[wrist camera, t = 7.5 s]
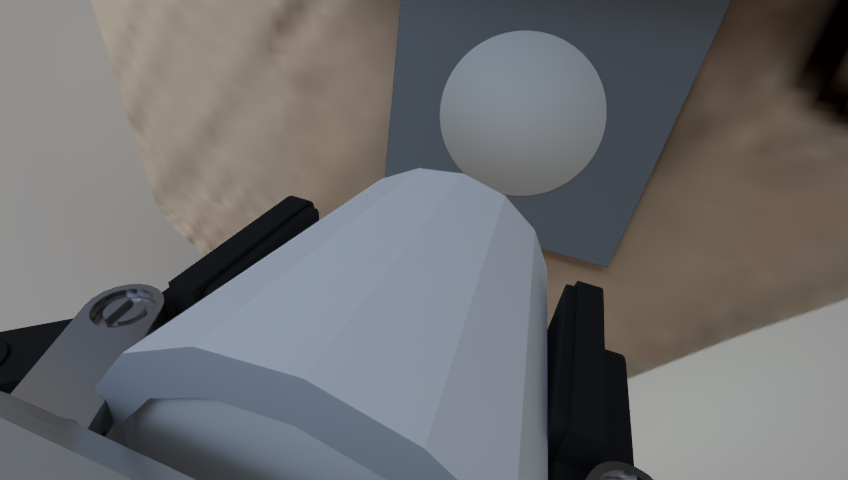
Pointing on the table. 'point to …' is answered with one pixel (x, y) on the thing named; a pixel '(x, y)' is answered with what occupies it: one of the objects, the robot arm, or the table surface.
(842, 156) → the table surface
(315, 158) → the table surface
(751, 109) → the table surface
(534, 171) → the mat
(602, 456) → the robot arm
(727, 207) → the table surface
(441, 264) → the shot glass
